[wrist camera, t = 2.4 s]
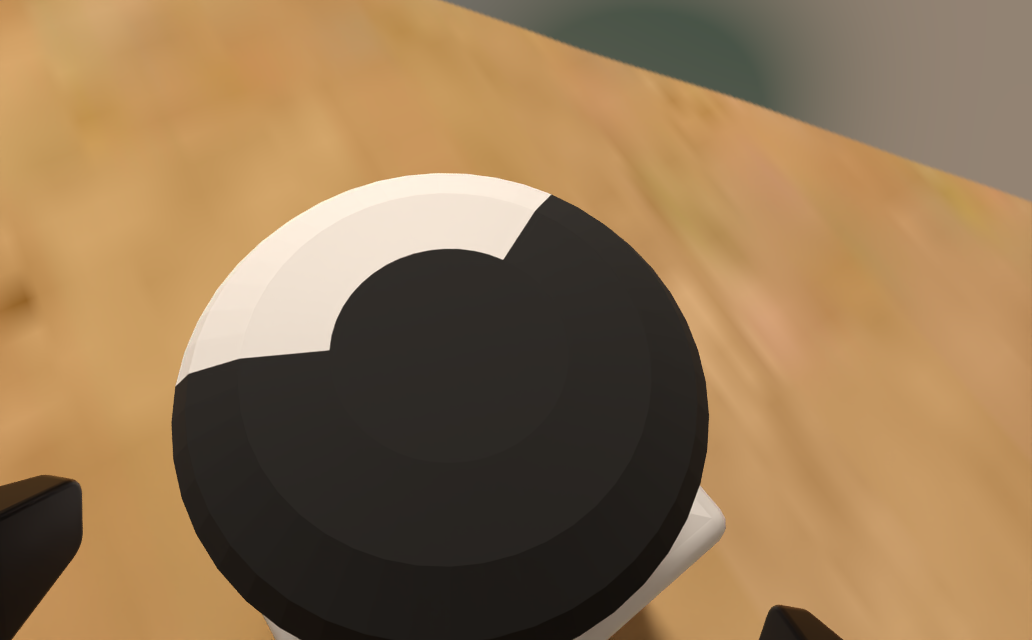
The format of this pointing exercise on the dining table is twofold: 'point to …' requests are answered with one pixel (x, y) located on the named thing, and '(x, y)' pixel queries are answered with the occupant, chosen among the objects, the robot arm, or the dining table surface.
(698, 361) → the medicine bottle
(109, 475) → the dining table surface
